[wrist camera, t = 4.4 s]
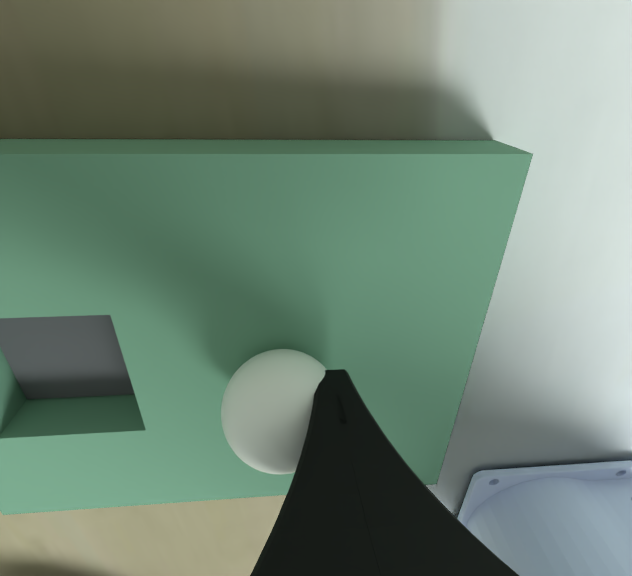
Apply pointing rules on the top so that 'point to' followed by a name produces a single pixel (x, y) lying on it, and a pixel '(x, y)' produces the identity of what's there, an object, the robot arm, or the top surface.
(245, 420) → the ball
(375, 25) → the top surface
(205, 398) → the board
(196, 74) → the top surface
